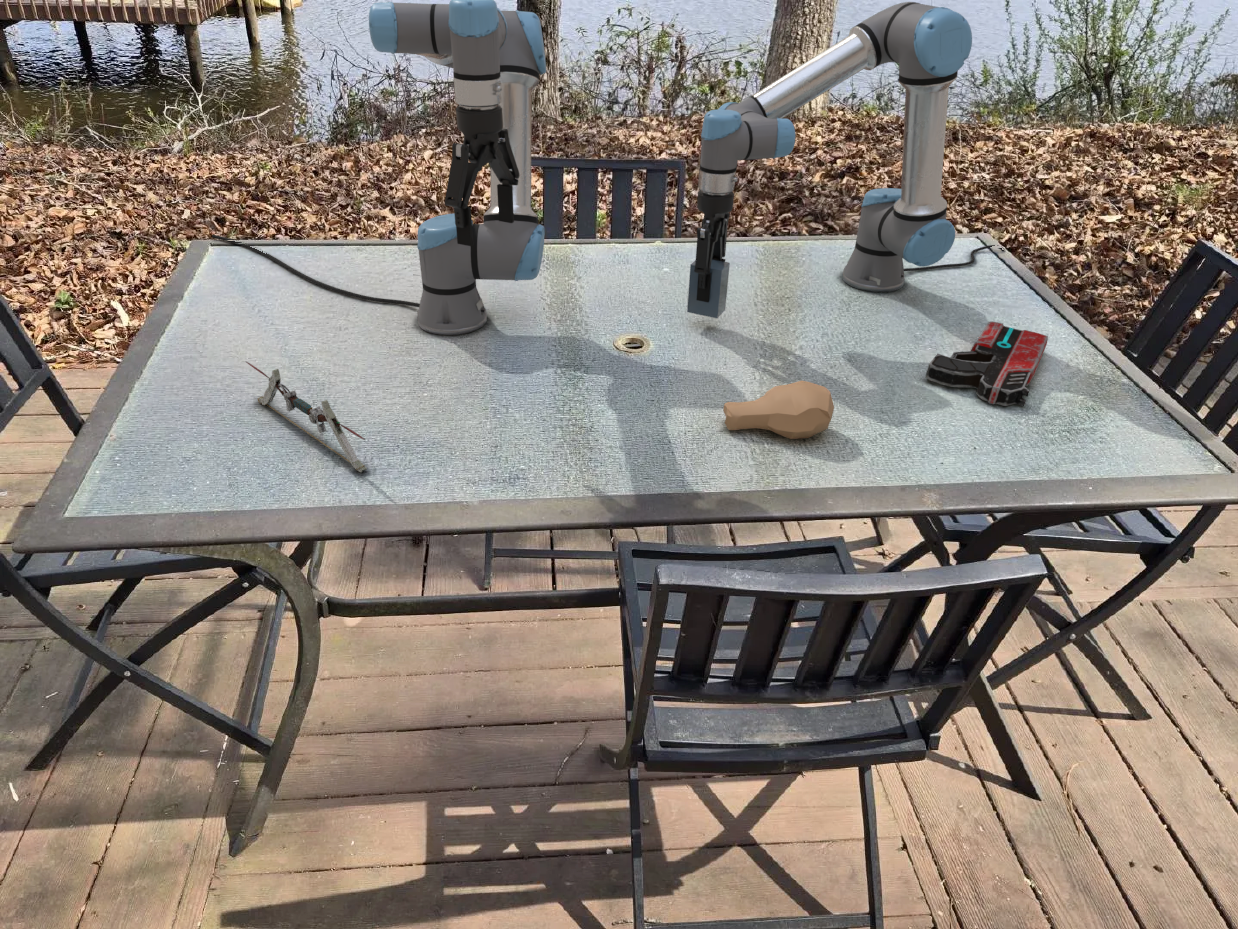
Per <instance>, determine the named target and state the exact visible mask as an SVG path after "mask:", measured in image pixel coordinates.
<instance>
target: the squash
mask: <svg viewBox="0 0 1238 929" xmlns="http://www.w3.org/2000/svg"><path fill="white" fill-rule="evenodd" d="M722 409H723V410H722V411H723V413H724V416H725V419H724V425H725V427H726V429H727V430H728V431H738V430H747V429H748V430H749V429H761V430H766V431H772V432H773V433H774V434H776V435H779V436H781V437H784V438H787V439H790V440H798V439H799V440H800V439H801V440H802V439H810V438H811V437H814V436H816V435H818V434H820V433H821V432H824V431H826V430H828V429H829V426H830V423H831V421H832V418H833V414H834V410H835V405H834V401H833V397H832V393H831V391H830V390H829V389H828V388H827V387H826V386H823V385H820V384H816V383H814V382H812V381H806V380H798V381H795V382H792V383H788V384H781V385H775V386H773V387H772V388H770V389H768V390H767V391H766V392H765V393H764V394H763V395H762V396H761V397H758V398H757V399H755V400H749V401H748V400H747V401H741V402H739V401H736V402H735V401H727V402H725V403H724V404H723V408H722Z"/></svg>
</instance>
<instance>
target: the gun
mask: <svg viewBox="0 0 1238 929" xmlns="http://www.w3.org/2000/svg"><path fill="white" fill-rule="evenodd" d="M1048 340H1049V336H1048V335H1046V334H1042V333H1039V332H1036V331H1031V330H1028V329H1018V328H1014V327H1010V326H1006V325H1004V323H1002V322H998V321H993V320H992V321H990V320H989V321H987V323H986V325H985V326H984V327H983V330H982V331H981V332H980V334H979V336H978V337H977V339H976V341H975V342H974V343H973V346H972V347H971V349H970V351H969V350H968V351H954V352H953V353H952V354H951V356H950V357H949V356H946V355H944V354H942V353H941V354H940V353H936V354H935V355H934V357H933V358H932V360H931V361H930V362H929V363H928V366H927V370H926V373H925V379H926V380H929V381H931V382H933V383H937V384H939V385H942V386H947V387H950V388H974V389H976V393H975V394H976V395H977V396H978V398H980V399H981V400H982V401H986V402H987V403H988V404H990V405H995V404H996V405H1000V406H1003V407H1007V406H1011V405H1017V406H1021V407H1025V405H1026V402H1027V400H1026V399H1025V398H1024V397H1028V396H1029V395H1030V394H1029V393H1030V389H1029V388H1027V387H1028V386H1029V385H1030V383H1031V381H1032V380H1033V379H1034V376H1035V375H1036V372H1037V370H1038V368H1039V365H1040V362H1041V359H1042V357H1043V355H1044V352H1045V350H1046V347H1047V345H1048Z"/></svg>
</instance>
